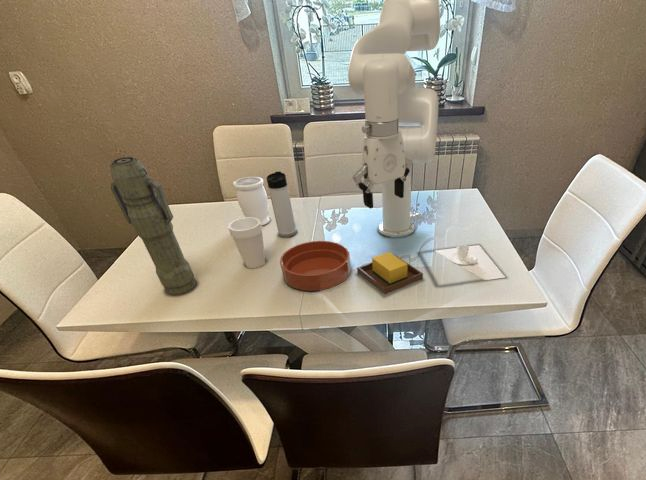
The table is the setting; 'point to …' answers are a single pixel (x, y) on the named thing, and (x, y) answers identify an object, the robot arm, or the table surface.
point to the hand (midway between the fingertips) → (384, 201)
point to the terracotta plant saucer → (315, 265)
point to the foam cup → (249, 240)
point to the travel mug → (281, 204)
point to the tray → (367, 274)
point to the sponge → (389, 268)
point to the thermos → (151, 223)
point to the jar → (252, 198)
